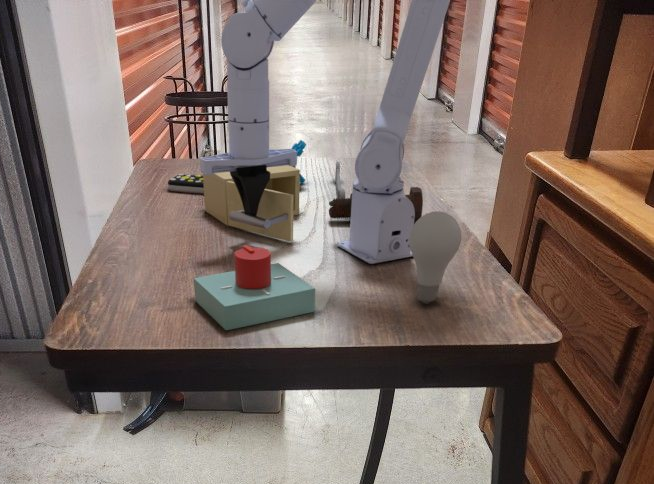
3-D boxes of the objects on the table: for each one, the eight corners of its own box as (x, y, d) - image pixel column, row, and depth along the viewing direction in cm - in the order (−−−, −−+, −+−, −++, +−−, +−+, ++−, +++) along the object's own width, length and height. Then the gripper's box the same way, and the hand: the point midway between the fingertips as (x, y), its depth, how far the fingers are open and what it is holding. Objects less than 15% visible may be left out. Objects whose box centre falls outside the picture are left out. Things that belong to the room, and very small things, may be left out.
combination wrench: (346, 188, 115) (342, 159, 130) (338, 188, 115) (335, 159, 130) (344, 211, 117) (341, 179, 133) (337, 211, 117) (334, 179, 133)
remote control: (228, 196, 123) (227, 185, 122) (165, 191, 126) (164, 180, 125) (239, 188, 128) (239, 177, 126) (179, 183, 131) (178, 172, 129)
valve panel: (314, 311, 82) (315, 287, 80) (226, 330, 78) (224, 305, 76) (278, 284, 89) (278, 261, 87) (195, 301, 85) (193, 276, 83)
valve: (277, 285, 81) (277, 253, 78) (244, 291, 79) (243, 259, 77) (261, 273, 84) (261, 242, 81) (229, 279, 82) (228, 247, 80)
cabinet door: (266, 251, 99) (266, 204, 94) (204, 234, 105) (200, 188, 101) (293, 240, 102) (293, 194, 98) (230, 224, 109) (228, 180, 105)
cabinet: (299, 214, 114) (299, 169, 110) (226, 225, 109) (224, 179, 105) (274, 200, 121) (274, 158, 116) (205, 210, 116) (202, 166, 112)
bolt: (328, 230, 113) (417, 227, 112) (330, 223, 108) (422, 220, 107) (328, 194, 112) (417, 191, 111) (329, 185, 107) (423, 182, 106)
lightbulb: (444, 293, 87) (458, 204, 80) (455, 312, 82) (471, 219, 75) (397, 293, 86) (408, 205, 80) (406, 312, 82) (418, 220, 75)
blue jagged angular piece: (267, 167, 133) (302, 129, 128) (287, 189, 136) (323, 153, 131) (261, 190, 126) (298, 151, 120) (283, 212, 129) (320, 175, 123)
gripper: (282, 111, 97) (281, 208, 106) (189, 118, 92) (196, 219, 101) (305, 119, 92) (301, 220, 101) (208, 127, 87) (213, 233, 96)
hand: (250, 221), depth 100 cm, fingers closed, pressing on cabinet door
